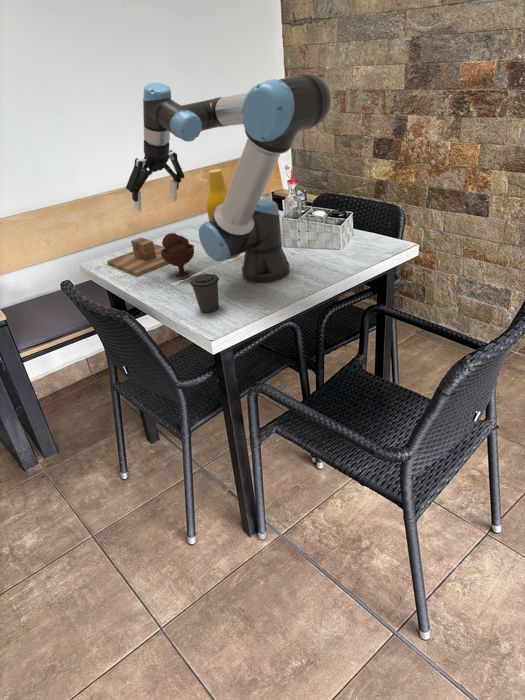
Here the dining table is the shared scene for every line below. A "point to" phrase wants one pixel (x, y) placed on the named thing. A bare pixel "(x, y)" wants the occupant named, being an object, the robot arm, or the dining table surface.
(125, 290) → the dining table surface
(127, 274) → the green mat
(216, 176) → the yellow bottle
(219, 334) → the dining table surface
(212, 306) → the coffee cup
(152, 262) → the walnut cover
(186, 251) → the ice cream bowl
